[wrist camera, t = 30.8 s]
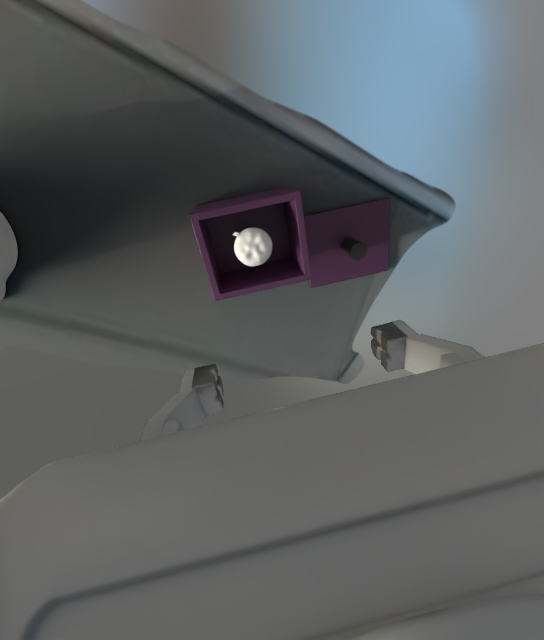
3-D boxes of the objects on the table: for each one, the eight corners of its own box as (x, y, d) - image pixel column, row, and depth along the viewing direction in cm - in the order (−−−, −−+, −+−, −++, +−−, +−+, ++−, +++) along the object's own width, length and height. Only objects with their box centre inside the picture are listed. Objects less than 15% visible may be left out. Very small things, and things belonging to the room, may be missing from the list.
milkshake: (242, 206, 39) (247, 216, 30) (270, 232, 41) (282, 249, 33) (221, 231, 40) (220, 249, 32) (250, 256, 42) (256, 278, 34)
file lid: (310, 286, 47) (317, 297, 43) (301, 216, 42) (309, 221, 38) (386, 269, 48) (401, 278, 44) (387, 197, 42) (404, 200, 38)
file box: (216, 277, 44) (214, 301, 36) (195, 205, 39) (188, 214, 31) (296, 259, 45) (311, 279, 37) (285, 186, 40) (300, 190, 32)
